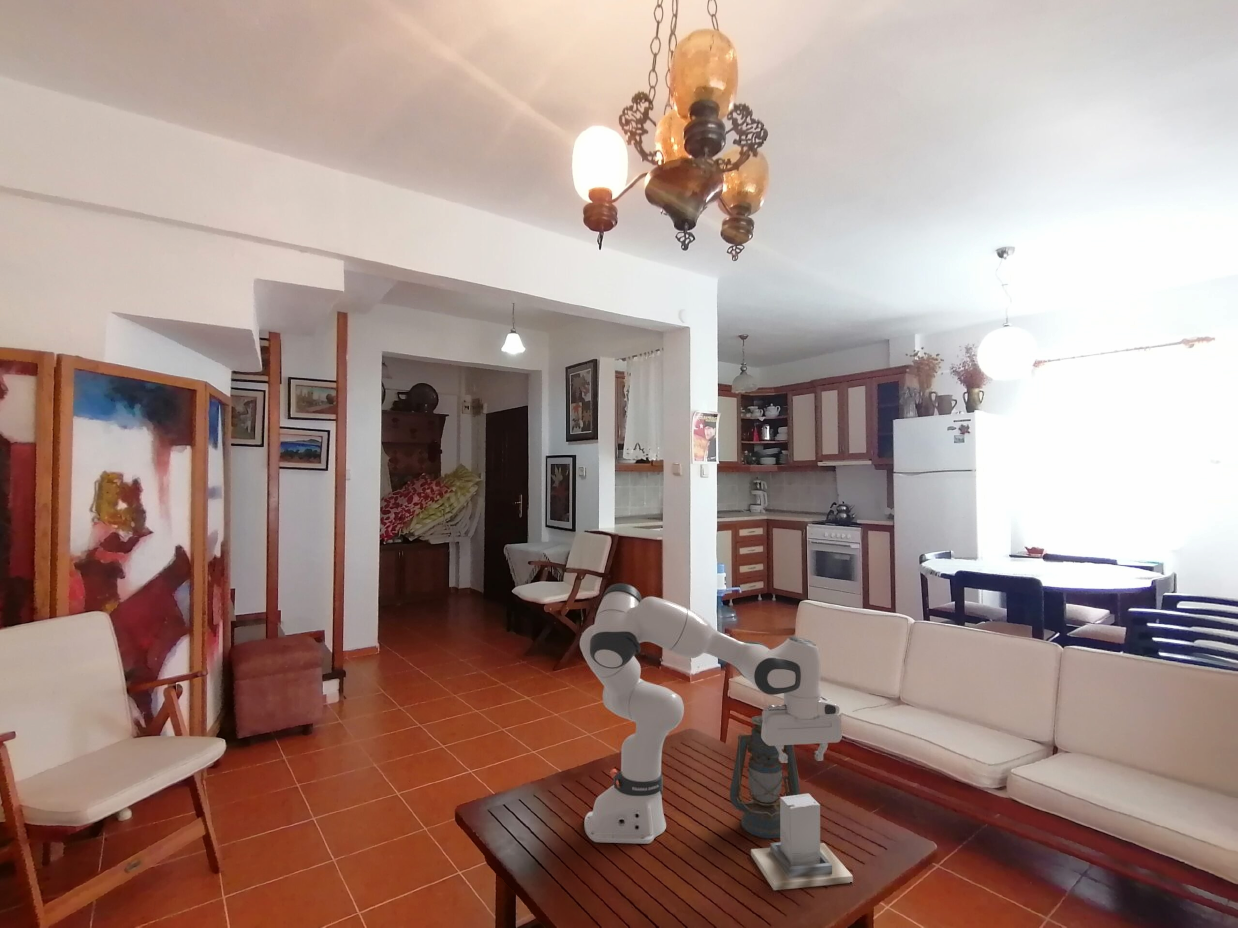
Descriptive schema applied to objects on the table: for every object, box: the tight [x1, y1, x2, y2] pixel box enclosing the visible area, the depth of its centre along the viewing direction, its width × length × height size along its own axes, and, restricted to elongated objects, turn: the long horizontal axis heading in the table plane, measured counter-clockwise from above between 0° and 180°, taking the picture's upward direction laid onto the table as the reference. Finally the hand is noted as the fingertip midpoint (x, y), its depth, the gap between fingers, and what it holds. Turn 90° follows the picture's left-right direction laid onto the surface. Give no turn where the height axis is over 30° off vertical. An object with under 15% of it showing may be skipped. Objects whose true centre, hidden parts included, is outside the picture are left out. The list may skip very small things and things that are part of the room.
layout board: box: [750, 841, 854, 891], centre depth 155 cm, size 20×14×4 cm
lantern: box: [729, 715, 801, 839], centre depth 174 cm, size 19×14×30 cm
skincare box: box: [779, 793, 821, 866], centre depth 156 cm, size 8×6×15 cm
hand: (801, 760), depth 156 cm, fingers open, 8 cm apart
